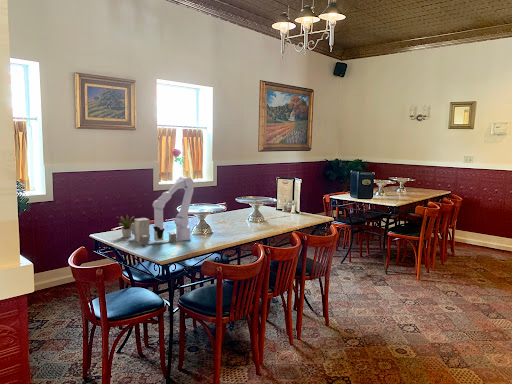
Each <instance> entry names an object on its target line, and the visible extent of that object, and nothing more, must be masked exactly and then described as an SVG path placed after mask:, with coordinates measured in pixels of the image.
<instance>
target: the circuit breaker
mask: <svg viewBox="0 0 512 384" xmlns="http://www.w3.org/2000/svg"><path fill="white" fill-rule="evenodd" d="M150 221H151V220H150V219H149V218H146V217H140V218H133V223H132V225H131V228H132V231H131V235H134V241H136V242H137V243H141V236H142V235H147V236H148V242H151V240H150V239H151V234H150V226H151V222H150Z"/></svg>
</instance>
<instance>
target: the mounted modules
mask: <svg viewBox="0 0 512 384" xmlns="http://www.w3.org/2000/svg"><path fill="white" fill-rule="evenodd" d="M168 240H169V241H171V242H173V243H175V242H174V241H176V233H175V232H169V233H168ZM148 242H149V241H148V236H147V235H142V236H141V242H140V243H142V244H143V245H145V244H148ZM145 246H146V245H145Z"/></svg>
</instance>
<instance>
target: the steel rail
mask: <svg viewBox="0 0 512 384" xmlns="http://www.w3.org/2000/svg"><path fill="white" fill-rule="evenodd" d="M172 243H178V241H177V240H176V241H174V242H171V241H169V239H168V240H162V241H148V244H145V245H143V244H142V243H141V242H139V245H140V246H142V247H143V246H144V247H145V246H151V245H152V246H153V245H155V246H156V245H162V244H172Z"/></svg>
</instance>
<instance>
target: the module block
mask: <svg viewBox="0 0 512 384" xmlns="http://www.w3.org/2000/svg"><path fill="white" fill-rule="evenodd" d="M153 238H154V239H153V241H154V242H157V241H164V234H163V235H162V239H158V235H157V231H155V230H154V231H153Z"/></svg>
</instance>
